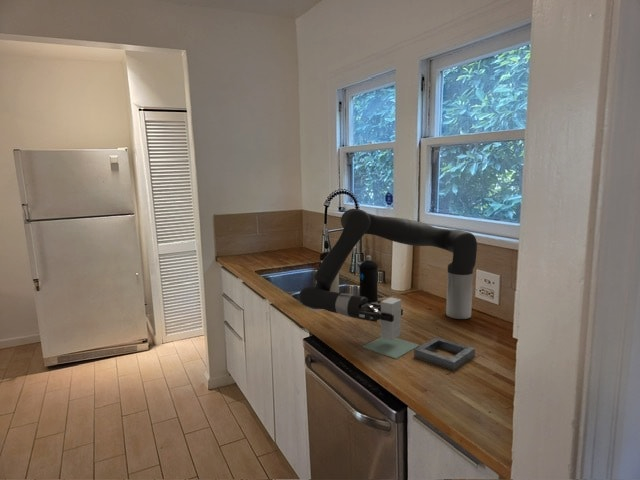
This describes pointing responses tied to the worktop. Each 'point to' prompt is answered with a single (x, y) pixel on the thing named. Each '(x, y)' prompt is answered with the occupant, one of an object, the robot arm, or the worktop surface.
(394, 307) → the skincare box
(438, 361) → the block
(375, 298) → the aerosol can
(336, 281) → the travel mug
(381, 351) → the set down mat
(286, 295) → the worktop surface
